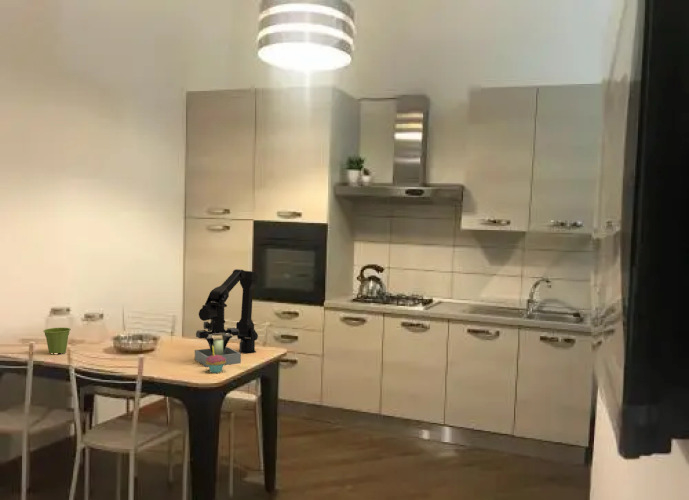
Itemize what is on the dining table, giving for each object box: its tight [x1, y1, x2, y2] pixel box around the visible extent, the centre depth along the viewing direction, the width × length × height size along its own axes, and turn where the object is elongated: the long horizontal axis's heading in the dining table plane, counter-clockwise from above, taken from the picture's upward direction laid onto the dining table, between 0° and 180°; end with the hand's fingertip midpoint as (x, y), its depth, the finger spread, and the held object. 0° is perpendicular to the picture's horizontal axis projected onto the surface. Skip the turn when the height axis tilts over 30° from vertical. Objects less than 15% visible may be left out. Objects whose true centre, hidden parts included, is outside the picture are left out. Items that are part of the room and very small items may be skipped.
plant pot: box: [42, 327, 71, 354], centre depth 294 cm, size 12×12×11 cm
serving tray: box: [194, 346, 242, 368], centre depth 284 cm, size 16×16×4 cm
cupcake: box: [206, 344, 226, 374], centre depth 266 cm, size 9×8×12 cm
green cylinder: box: [212, 338, 223, 355], centre depth 284 cm, size 5×5×7 cm
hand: (217, 351), depth 284 cm, fingers closed on green cylinder, 5 cm apart
